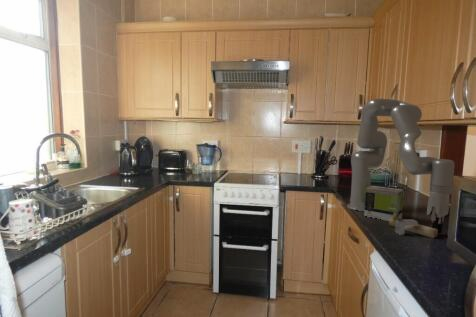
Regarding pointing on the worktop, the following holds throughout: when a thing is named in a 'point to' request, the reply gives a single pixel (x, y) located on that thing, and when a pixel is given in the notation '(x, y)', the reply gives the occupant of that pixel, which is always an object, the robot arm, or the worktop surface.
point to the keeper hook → (403, 225)
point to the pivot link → (415, 228)
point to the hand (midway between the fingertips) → (436, 232)
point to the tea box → (383, 202)
